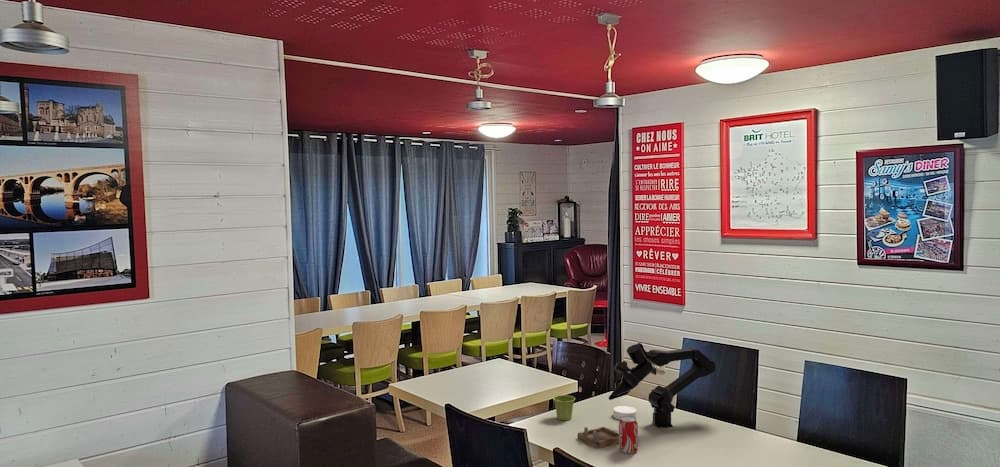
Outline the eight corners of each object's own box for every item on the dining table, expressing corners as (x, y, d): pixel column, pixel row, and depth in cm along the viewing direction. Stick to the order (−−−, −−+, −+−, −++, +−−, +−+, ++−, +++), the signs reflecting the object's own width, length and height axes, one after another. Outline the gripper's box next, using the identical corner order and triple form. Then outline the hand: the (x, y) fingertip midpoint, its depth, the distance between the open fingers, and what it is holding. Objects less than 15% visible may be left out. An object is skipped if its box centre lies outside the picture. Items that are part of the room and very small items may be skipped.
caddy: (603, 432, 253) (603, 419, 253) (624, 441, 242) (624, 428, 242) (577, 438, 246) (577, 425, 246) (597, 448, 236) (597, 435, 236)
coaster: (636, 421, 265) (636, 413, 265) (612, 420, 267) (612, 412, 267) (636, 414, 275) (636, 406, 275) (613, 412, 277) (613, 404, 277)
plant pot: (549, 416, 272) (549, 396, 272) (568, 413, 276) (567, 393, 276) (560, 423, 264) (560, 402, 263) (579, 420, 268) (579, 399, 267)
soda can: (633, 456, 228) (633, 423, 228) (615, 451, 233) (615, 419, 232) (641, 450, 234) (641, 417, 233) (624, 445, 238) (623, 414, 238)
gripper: (620, 362, 267) (593, 385, 262) (630, 351, 250) (601, 376, 246) (639, 383, 264) (611, 407, 259) (650, 373, 247) (621, 399, 242)
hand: (611, 397), depth 252 cm, fingers open, 9 cm apart
